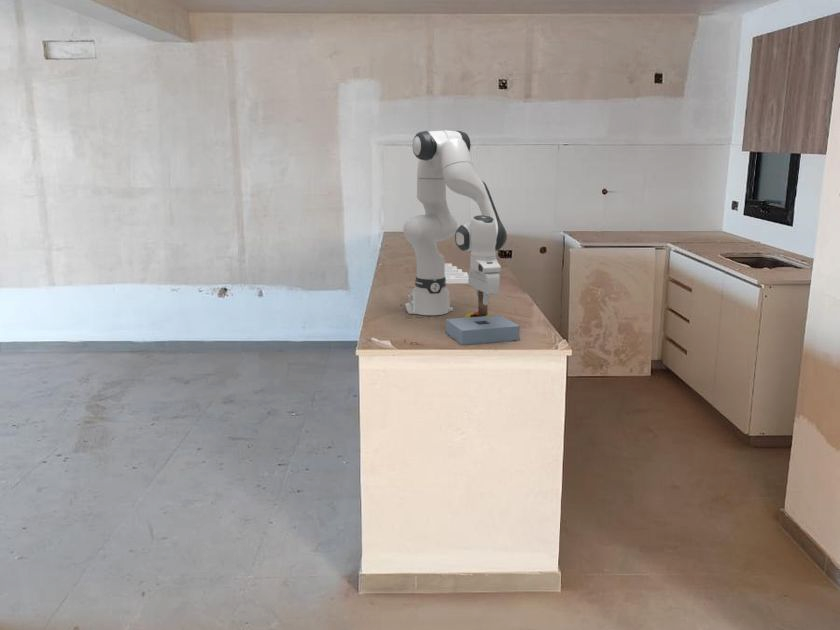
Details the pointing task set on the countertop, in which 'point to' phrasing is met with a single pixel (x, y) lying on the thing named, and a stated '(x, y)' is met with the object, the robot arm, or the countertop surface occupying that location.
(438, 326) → the countertop surface
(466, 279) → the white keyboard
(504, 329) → the socket block
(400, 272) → the countertop surface
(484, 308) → the peg
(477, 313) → the emergency button
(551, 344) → the countertop surface
